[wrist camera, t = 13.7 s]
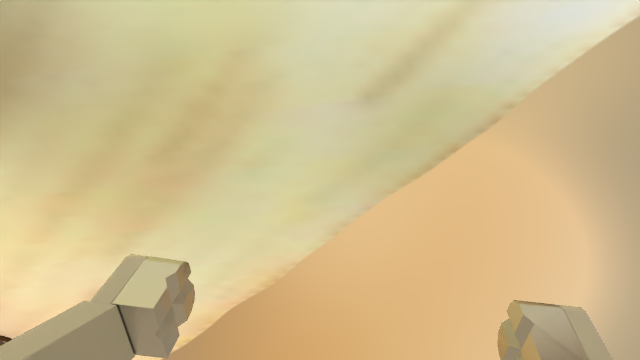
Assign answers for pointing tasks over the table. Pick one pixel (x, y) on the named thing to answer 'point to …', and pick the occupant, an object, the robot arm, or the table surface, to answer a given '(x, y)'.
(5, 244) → the table surface
